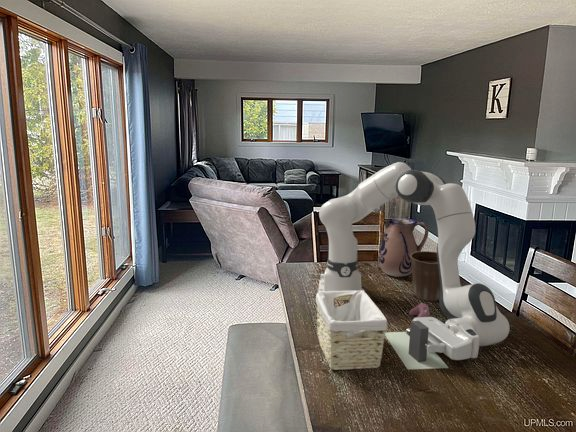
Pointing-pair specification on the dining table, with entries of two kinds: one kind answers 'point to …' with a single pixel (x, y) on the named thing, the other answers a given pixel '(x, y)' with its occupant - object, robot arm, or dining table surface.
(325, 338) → the storage basket
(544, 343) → the dining table surface
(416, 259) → the plant pot
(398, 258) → the ceramic pitcher
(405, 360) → the mat
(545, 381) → the dining table surface
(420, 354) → the domino
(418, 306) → the video game controller
